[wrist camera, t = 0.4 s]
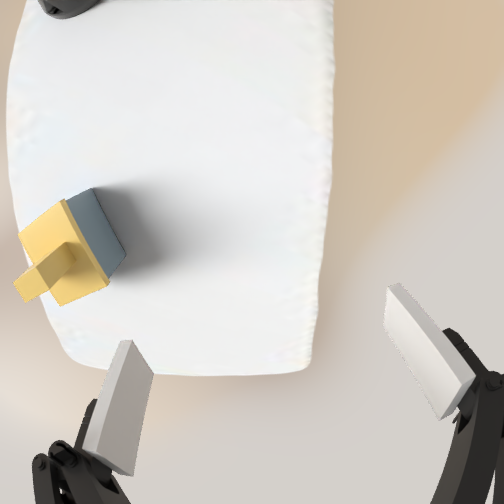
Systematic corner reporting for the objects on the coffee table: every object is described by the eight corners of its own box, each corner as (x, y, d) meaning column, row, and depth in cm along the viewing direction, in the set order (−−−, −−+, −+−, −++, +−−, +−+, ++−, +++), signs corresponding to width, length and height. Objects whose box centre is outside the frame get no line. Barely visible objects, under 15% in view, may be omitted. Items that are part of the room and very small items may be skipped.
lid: (26, 229, 29) (-12, 255, 21) (68, 196, 28) (25, 219, 20) (66, 298, 34) (38, 335, 26) (112, 277, 33) (85, 319, 25)
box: (51, 215, 36) (24, 232, 28) (91, 187, 35) (64, 201, 28) (84, 274, 41) (63, 300, 33) (126, 254, 40) (107, 280, 32)
